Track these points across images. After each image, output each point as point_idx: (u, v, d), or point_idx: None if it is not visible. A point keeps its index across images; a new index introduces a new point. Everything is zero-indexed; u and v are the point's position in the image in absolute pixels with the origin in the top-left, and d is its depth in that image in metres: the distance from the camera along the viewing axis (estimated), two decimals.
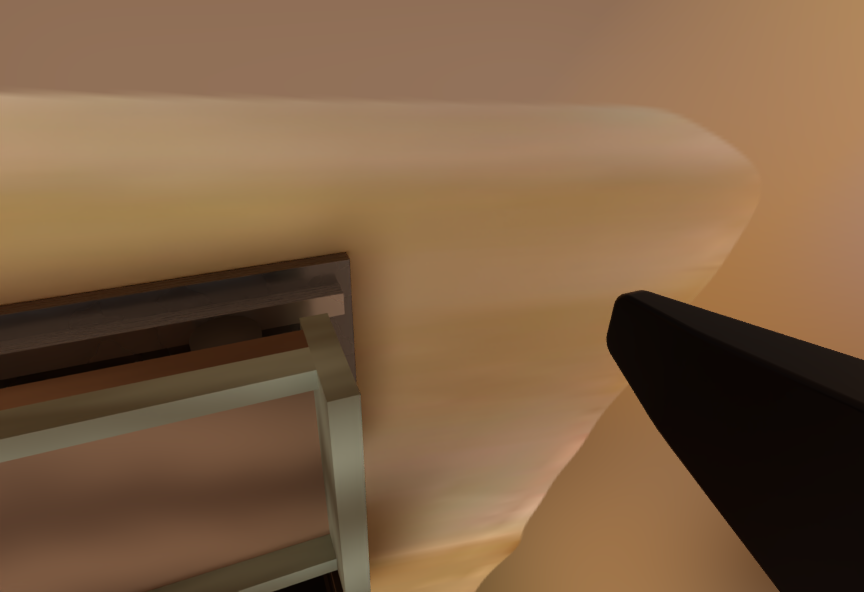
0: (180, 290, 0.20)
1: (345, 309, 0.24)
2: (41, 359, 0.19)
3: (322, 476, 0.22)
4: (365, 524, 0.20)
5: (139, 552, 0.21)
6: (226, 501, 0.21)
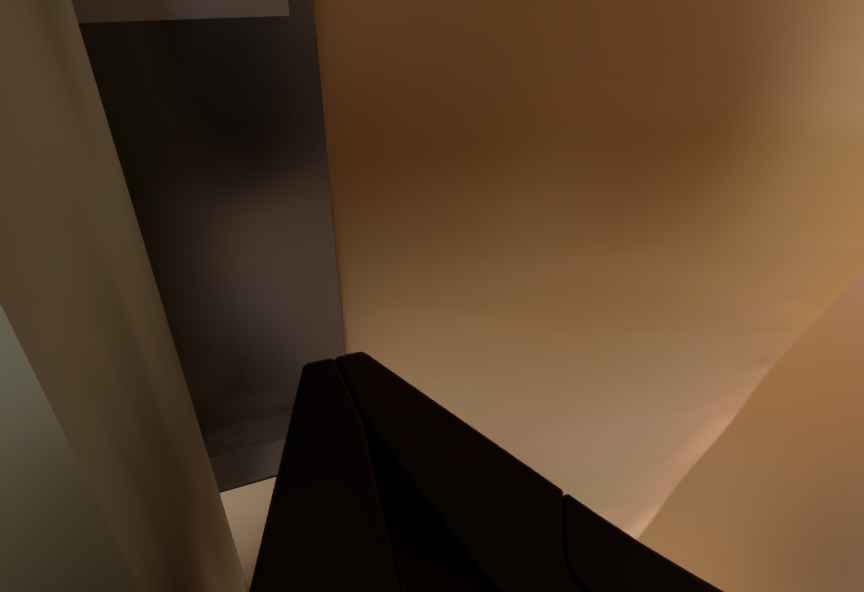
0: None
1: (297, 33, 0.09)
2: None
3: None
4: None
5: None
6: None
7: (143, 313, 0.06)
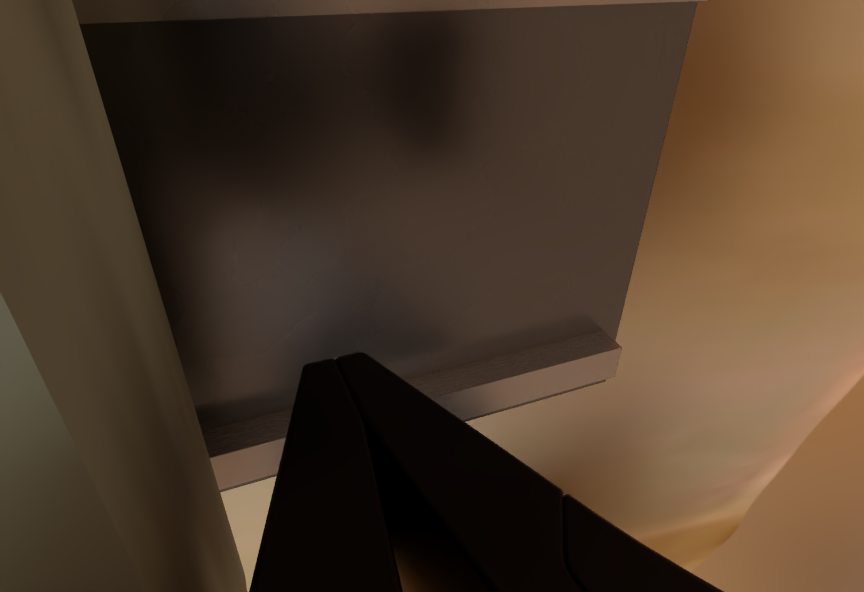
0: None
1: (682, 15, 0.11)
2: None
3: None
4: None
5: None
6: None
7: (144, 312, 0.06)
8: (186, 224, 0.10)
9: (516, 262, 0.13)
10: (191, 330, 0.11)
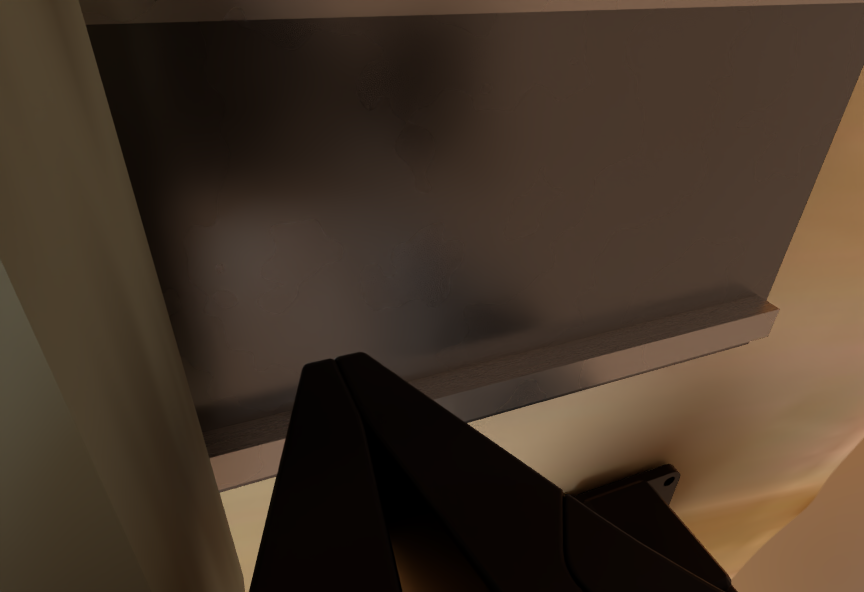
0: None
1: None
2: None
3: None
4: None
5: None
6: None
7: (147, 312, 0.06)
8: (484, 184, 0.11)
9: (707, 229, 0.15)
10: (462, 278, 0.13)
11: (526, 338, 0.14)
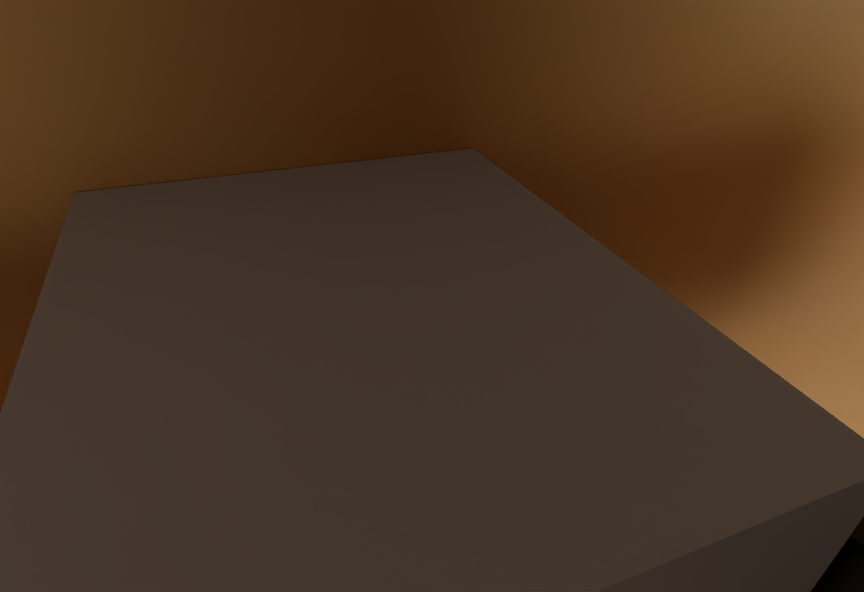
0: None
1: None
2: None
3: None
4: None
5: None
6: None
7: None
8: None
9: None
10: None
11: None
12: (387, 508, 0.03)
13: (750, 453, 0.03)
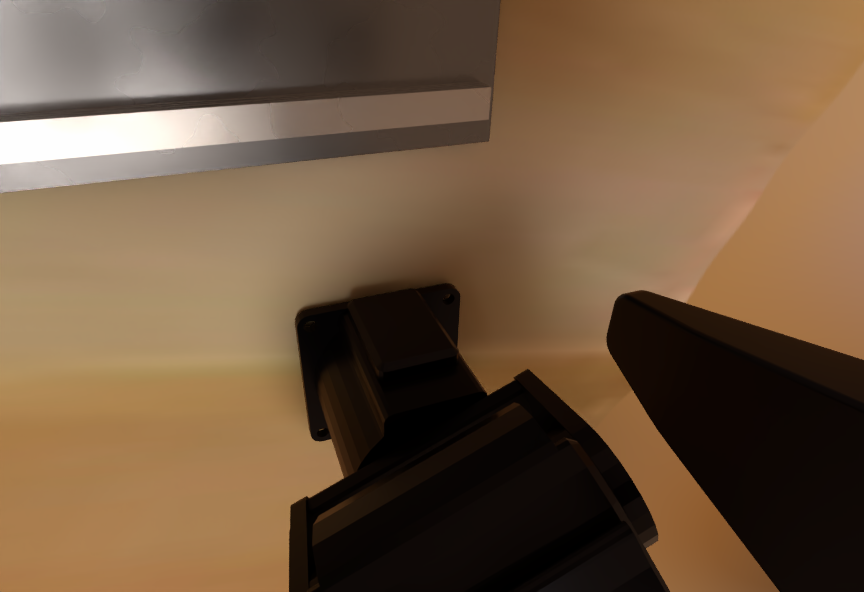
0: None
1: None
2: None
3: None
4: None
5: None
6: None
7: None
8: None
9: None
10: None
11: (215, 82, 0.15)
12: None
13: None
